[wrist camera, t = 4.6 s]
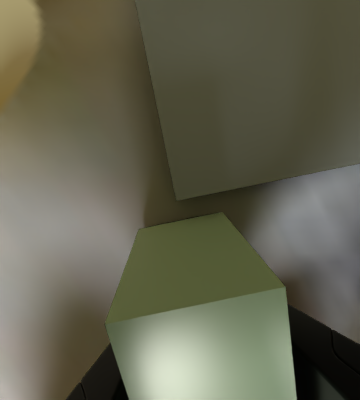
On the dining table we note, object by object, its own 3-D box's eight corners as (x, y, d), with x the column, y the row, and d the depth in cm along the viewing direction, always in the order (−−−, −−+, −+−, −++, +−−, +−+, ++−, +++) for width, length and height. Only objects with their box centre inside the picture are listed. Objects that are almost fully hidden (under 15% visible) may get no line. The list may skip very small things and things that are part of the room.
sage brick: (242, 334, 10) (306, 498, 6) (169, 349, 10) (171, 527, 6) (222, 212, 9) (285, 286, 4) (138, 229, 9) (104, 324, 4)
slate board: (415, 146, 9) (444, 146, 8) (175, 195, 9) (176, 200, 8) (429, -182, 7) (472, -235, 6) (110, -120, 7) (100, -164, 6)
